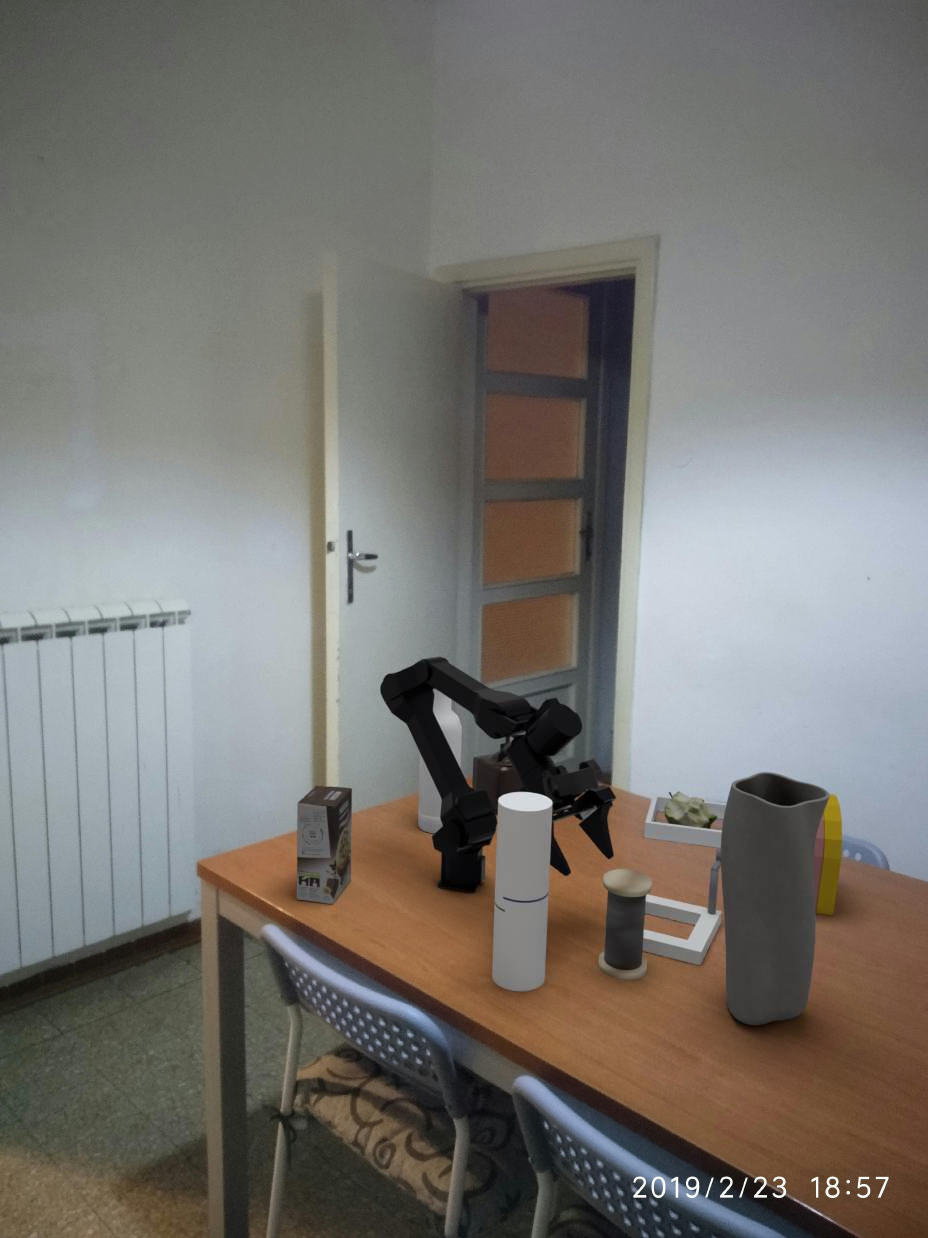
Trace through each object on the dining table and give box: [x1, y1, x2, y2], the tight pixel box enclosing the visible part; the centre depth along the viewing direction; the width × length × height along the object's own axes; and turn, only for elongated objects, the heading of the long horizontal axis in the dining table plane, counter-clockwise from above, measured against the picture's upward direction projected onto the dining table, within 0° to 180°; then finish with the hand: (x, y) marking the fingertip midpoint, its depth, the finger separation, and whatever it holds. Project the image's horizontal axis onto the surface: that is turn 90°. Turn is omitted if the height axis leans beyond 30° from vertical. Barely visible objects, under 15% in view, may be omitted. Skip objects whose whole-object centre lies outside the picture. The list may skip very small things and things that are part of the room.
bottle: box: [417, 689, 463, 835], centre depth 178 cm, size 8×8×30 cm
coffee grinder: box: [471, 734, 523, 816], centre depth 193 cm, size 16×11×18 cm
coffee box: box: [296, 785, 353, 905], centre depth 152 cm, size 9×6×16 cm
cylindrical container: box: [491, 792, 552, 992], centre depth 127 cm, size 7×7×25 cm
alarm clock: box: [813, 793, 843, 916], centre depth 154 cm, size 15×8×18 cm, turn 168°
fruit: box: [663, 790, 717, 829], centre depth 182 cm, size 9×9×8 cm
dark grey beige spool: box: [598, 868, 653, 981], centre depth 131 cm, size 7×7×13 cm
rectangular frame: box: [604, 848, 722, 966], centre depth 142 cm, size 14×16×11 cm
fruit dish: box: [643, 794, 727, 849], centre depth 183 cm, size 16×16×3 cm
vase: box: [720, 771, 830, 1026], centre depth 120 cm, size 12×12×30 cm
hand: (590, 866), depth 135 cm, fingers open, 9 cm apart
